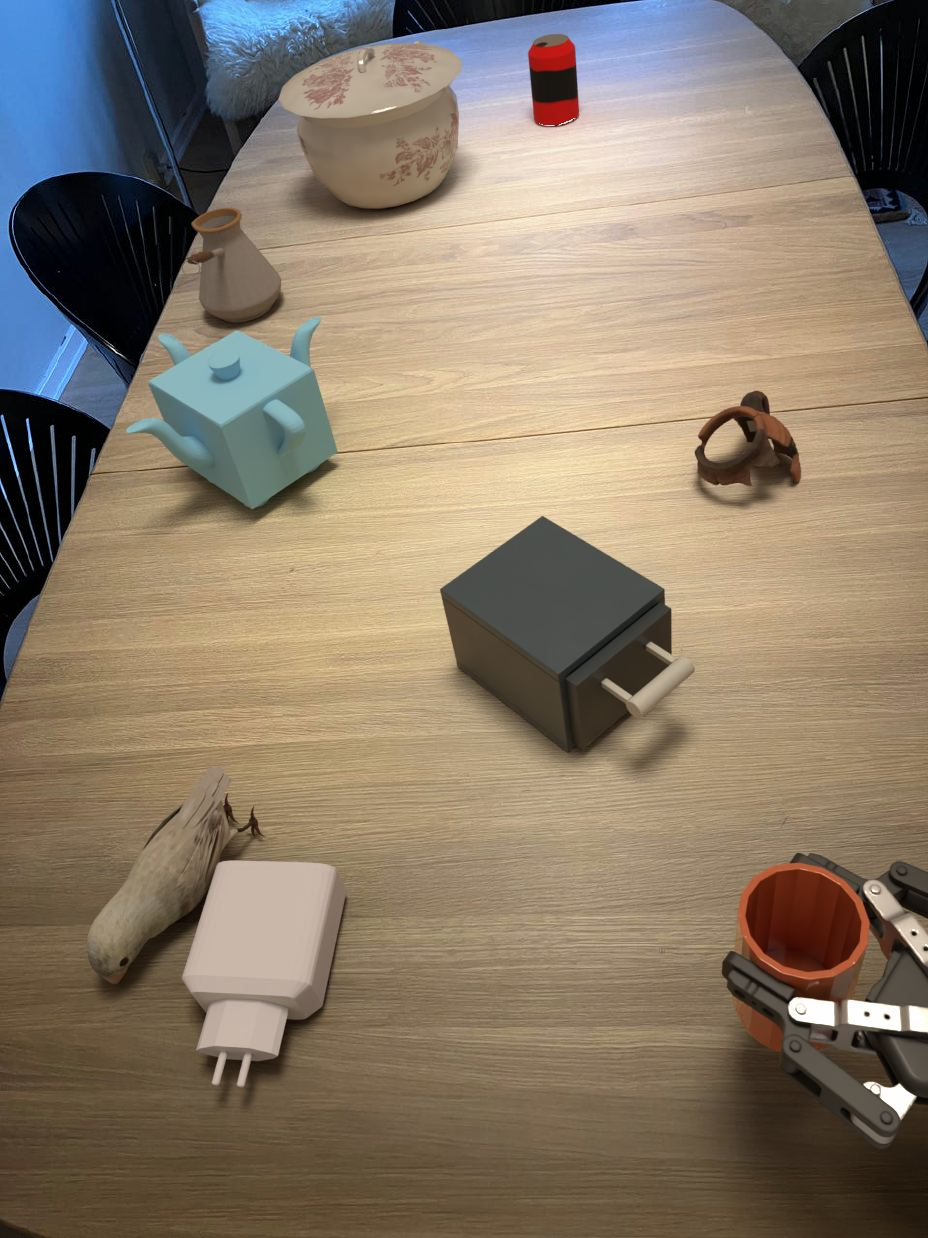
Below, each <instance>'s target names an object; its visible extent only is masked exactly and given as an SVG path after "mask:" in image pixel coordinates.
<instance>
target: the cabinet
mask: <svg viewBox="0 0 928 1238" xmlns="http://www.w3.org/2000/svg"><path fill="white" fill-rule="evenodd" d="M439 591H440V596H441V601H442V606H443V608H444V614H445V618H446V623H447V627H448V631H449V632H448V633H449V635H450V640H451V644H452V648H453V654H454V658H455V662H456V666H457V668H458V669H460V670H461V671H462V672H464V673H465V674H466V675H467V676H468V677H470V678H471V679H472V680H473V681H475V682H476V683H478V684H479V685H480V686H482V687H483V689H485V690H487V691H488V692H489V693H491V694H492V695H493V696H494V697H496V698H497V699H498V700H499V701H501V702H502V703H503V704H504V705H506V706H507V707H509V708H510V709H511V710H512V711H514V712H515V713H516V714H518V715H519V716H520V717H521V718H522V719H524V720H525V721H527V722H528V723H529V724H530V725H532V726H533V727H534V728H535V729H537V730H538V731H539V732H541V733H542V734H543V735H544V736H545V737H547V738H548V739H549V740H551V741H552V742H553V743H555V744H556V745H557V746H558V747H560V748H561V749H562V750H563V751H565V752H566V753H569V752H571V751H572V750H573V749H574V748H576V746H577V745H576V744H575V743H574V742H573V741H572V732H571V724H570V715H569V707H568V698H567V690H566V681H565V678H566V677H567V675H568V674H569V673H571V672H572V671H573V670H574V669H575V668H577V667H578V666H579V665H580V664H582V663H583V662H584V661H585V660H587V659H588V658H589V657H590V656H592V655H593V654H594V653H595V652H597V651H598V650H599V649H600V648H601V647H603V646H604V645H605V644H606V643H608V642H609V641H610V640H611V639H613V638H614V637H615V636H616V635H618V634H619V633H620V632H621V631H623V630H624V629H625V628H626V627H628V626H629V625H630V624H631V623H632V622H634V621H635V620H636V619H637V618H639V617H640V618H641V617H642V616H643V615H644V614H646V613H647V612H648V611H649V610H651V609H652V608H653V607H654V606H655V605H657V604H658V603H659V602H661V603H663V604H665V605H666V597H665V596H666V589H665V588H664V587H662V586H661V585H659V584H657V583H655V582H654V581H653V580H651V579H649V578H647V577H646V576H644V575H642V574H640V573H639V572H637V571H636V570H634V569H632V568H630V567H629V566H628V565H625V564H623V563H622V562H621V561H619V560H618V559H615V558H614V557H613V556H611V555H609V554H607V553H606V552H603V551H602V550H601V549H598V547H596V546H594V545H592V544H590V543H589V542H587V541H585V540H584V539H582V538H581V537H579V536H577V535H575V534H574V533H572V532H571V531H569V530H567V529H566V528H564V527H562V526H561V525H559V524H557V523H555V522H554V521H552V520H550V519H549V518H548V517H546V516H543V515H541V516H540V517H538V518H537V519H536V520H534V521H532V522H531V523H530V524H529V525H527V526H526V527H524V528H523V529H522V530H520V531H518V532H517V533H516V534H514V535H513V536H512V537H510V538H509V539H508V540H507V541H505V542H504V543H502V544H501V545H500V546H498V547H497V548H495V549H493V550H492V551H491V552H490V553H488V554H487V555H485V556H484V557H483V558H481V559H479V561H477V562H475V563H474V564H473V565H472V566H470V567H469V568H467V569H466V570H465V571H463V572H462V573H460V574H459V575H458V576H456V577H454V579H452V580H450V581H449V582H448V583H446V584H445V585H443V586H441V588H439Z"/></svg>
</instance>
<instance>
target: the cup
mask: <svg viewBox="0 0 928 1238" xmlns="http://www.w3.org/2000/svg"><path fill="white" fill-rule="evenodd" d="M735 926H736V928H735V940H734V941H735V942H734V950H733V951H734V952H737V953H738V954H740V955H741V956H743V957H745V958H746V959H748V960H749V961H751V962H753V963H754V964H756V965H757V966H759V967H760V968H762V969H763V970H765V971H766V972H768V973H769V974H771V975H772V976H774V977H775V978H777V979H778V980H780V981H783V982H784V983H786V984H788V985H789V986H791V987H792V988H794V989H795V994H794V997H796V998H797V997H801V998H808V999H816V1000H823V1001H830V1002H838V1001H840V1000H846V999H847V1000H854V999H853V998H854V995H855V992H856V987H857V984H858V981H859V977H860V974H861V970H862V967H863V963H864V959H865V956H866V954H867V953H866V952H867V949H868V946H869V937H870V936H869V935H870V929H869V927H870V922H869V919H868V916H867V913H866V910H865V908H864V905H863V902H862V900H861V899H860V897H859V896H858V895H857V894H856V893H855V892H854V890H853V889H852V888H851V887H850V886H849V885H848V884H847V882H846V881H844V880H843V879H841V878H839V877H838V876H836V875H834V874H833V873H831V872H829V871H827V870H826V869H824V868H821V867H817V866H812V865H807V864H802V863H791V864H789V863H784V864H777V865H773V866H771V867H769V868H767V869H765V870H764V871H762V872H759V873H758V874H756V875H754V876H753V877H752V879H750V881H749V883H748V884H747V885H746V887H745V888H744V889H743V891H742V892H741V895H740V899H739V904H738V909H737V917H736V925H735ZM731 1001H732V1005H733V1008H734V1012H735V1015H736V1016H737V1018H738V1020H739V1022H740V1024H741V1025H742V1027H743V1028H744V1030H745V1031H746V1032H747V1033H748V1034H749V1035H750V1037H752V1038H753V1039H754V1040H756V1041H757V1042H758V1043H760V1044H761V1045H763V1046H765V1047H766V1048H768V1049H770V1050H772V1051H775V1052H779V1053H780V1052H781V1046H782V1039H783V1036H782V1032H781V1030H780V1028H779V1027H778V1026H777V1025H776V1024H775V1023H774V1022H772V1021H771V1020H769V1019H768V1018H766V1017H765V1016H763V1015H762V1014H760V1013H759V1012H757V1011H756V1010H754V1009H753V1008H751V1007H749V1006H748V1005H746V1004H745V1003H744V1002H742V1001H740V1000H739V999H737V998H736V997H734V996H733V995H732V994H731ZM809 1043H810V1044H812V1045H813V1046H814V1047H815V1048H817V1049H818V1050H819V1051H821V1050H823V1049H825V1048H826V1047H828V1046H829V1045H825V1044H818V1043H811V1042H809Z"/></svg>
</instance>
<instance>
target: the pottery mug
mask: <svg viewBox="0 0 928 1238" xmlns="http://www.w3.org/2000/svg"><path fill="white" fill-rule="evenodd" d="M770 409H771V408H770V402H769V398H768V396H767V395H766V394H765V393H764V392H763V391H760V390H753V391H750V392H747V393H746V394H744V396H743V397H742V399H741V401H740V406H739V405H737V406H731V407H728V408H726V409H723V410H722V411H720V412H718V413H716V414H715V415H713V416H712V417H711V418H710V419H709V420H708V421H707V422H706V423H705V424H704V425H703V426H702V427H701V429H700V430H699V433H698V434H697V438H698V439H699V440H700V441H701V443H700V444H699V445H698V446H697V447H696V448H695V450H694V457H695V458H696V463H697V465H696V466H697V474H698V475H699V476H700V477H701V478H702V479H703V480H704V481H706V483H709V484H712V485H713V486H718V485H720V486H729V485H733V484H734V485H735V484H742V485H744V486H748V487H752V486H753V483H752V479H751V478H752V477H751V475H752V473H751V470H752V469H751V468H752V466H754V467H756V468H766V467H769V468H773V467H776V466H777V465H778V464H779V463H780V459H779V458H778V456H777V455H776V454H778V455H783V456H787V457H788V458H789V459H791V465H790V468H789V472H790V474H791V475H792V480H793V482H794V483H795V484H798V483H799V482H800V479H801V476H802V467H801V461H800V453H799V451H798V448H797V444H796V442H795V440H794V438H793V436H792V434H791V432H790V431H789V429H788V428H787V427H786V426H785V425H784V424H783V423H782V422H781V421H780V420H779V419H778V418H777V417H776V416H773V415H771V410H770ZM731 420H734V421H735V422H736V423H737V425H738V426H739V427H740V429H741V430H742V433H743V435H744V437H745V439H746V443H749V444H750V445H749V446H748V447H747V448H746V450H745V451H744V452H742V453H741V454H740V455H738V456H736V457H735V458H732V459H729V460H726V461H722V462H715V461H713V460H710V459H709V458H708V457H707V456H706V453H705V449H706V446H707V444H708V442H709V441H710V439H711V437H712V436H713V435H714V434H715V432H716V431H717V430H718V429H719V428H721V427H722V426H723V425H724V424H726V423H728V422H730V421H731ZM770 440H771V443H770Z"/></svg>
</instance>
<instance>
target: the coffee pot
mask: <svg viewBox="0 0 928 1238" xmlns="http://www.w3.org/2000/svg"><path fill="white" fill-rule="evenodd" d="M242 215H243V214H242V213H241V211H240V210H239V209H237V208H234V207H220V208H215V209H212V210H209V211H206V212H205V213H202V214H201V215H199V216H198V217H196V218H195V219H194V220H193V221H192V222H191V227H192V228H193V229H194V231H196V232H197V233H199V235H200V236H201V238H202V251H199V252H197V253H193V254H191V255H190V256H189V257H188V258H187V260H186V261H184V262H183V263H182V264H181V271H182V273H183V274H184V275H186V276H188V277H195V276H197V275H199V274H200V278H199V291H198V301H199V303H200V305H201V306H202V308H203V309H204V310H205V311H207V312H208V313H209V314H210V315H212V316H214V317H216V318H219V319H221V320H223V321H225V322H227V323H244V322H249V321H251V320H255V319H259V318H260V317H262V316H264V315H265V314H267V313H268V312H269V311H270V310H271V309H272V308H273V305H274V303H276V301H277V299H278V297H279V295H280V293H281V290H282V289H281V288H282V277H281V276H280V274H279V272H278V271H277V270H276V269H275V268H274V266H273V265H272V263H270V262H269V260H268V259H267V258H266V257H265V256H264V255H263V253H262V252H261V251H260V250H259V248H258V247H257V246H256V245H255V244H254V242H253V241H252V240H251V239H250V237H249V236H248V235H247V234H246V233H245V232H244V230H243V229H242V227H241V220H242V217H243V216H242ZM186 263H187V264H189V265H195V266H198V271H197V272H196V273H194V274H193V275H192V274H188V273H186V272H185V271H184V265H185V264H186Z"/></svg>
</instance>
